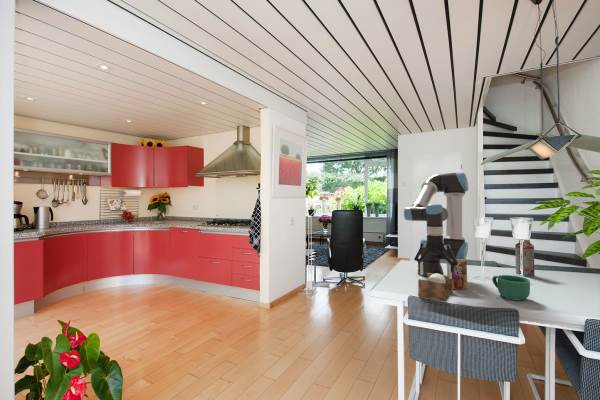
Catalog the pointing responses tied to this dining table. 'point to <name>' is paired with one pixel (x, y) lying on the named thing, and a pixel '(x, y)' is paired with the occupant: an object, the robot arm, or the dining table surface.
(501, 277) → the mug
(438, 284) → the cradle
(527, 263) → the juice carton
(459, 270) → the candy box
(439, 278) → the roll
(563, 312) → the dining table surface
